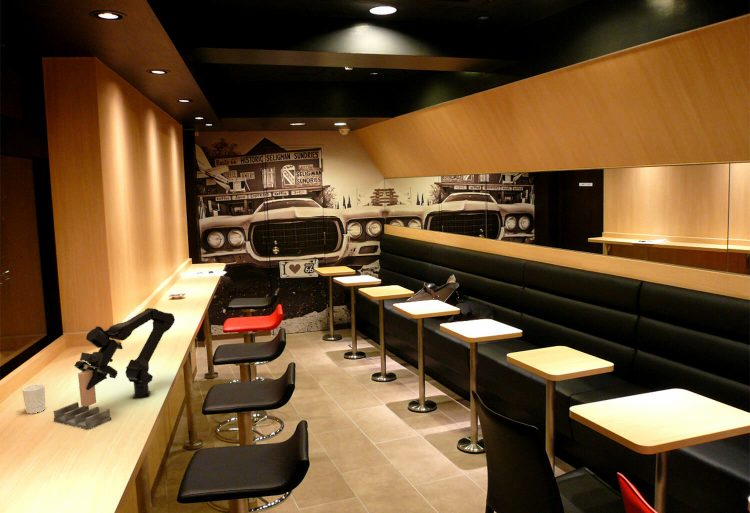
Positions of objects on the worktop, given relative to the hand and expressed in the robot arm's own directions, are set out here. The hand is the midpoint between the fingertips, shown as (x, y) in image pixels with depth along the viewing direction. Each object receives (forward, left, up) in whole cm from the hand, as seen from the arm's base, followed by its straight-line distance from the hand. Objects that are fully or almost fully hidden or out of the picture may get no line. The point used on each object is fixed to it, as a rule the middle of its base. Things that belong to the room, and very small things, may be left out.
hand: (84, 389), depth 235 cm
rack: (+2, -1, -12) cm, 12 cm away
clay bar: (-1, +1, -7) cm, 7 cm away
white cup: (-15, -22, -12) cm, 30 cm away
